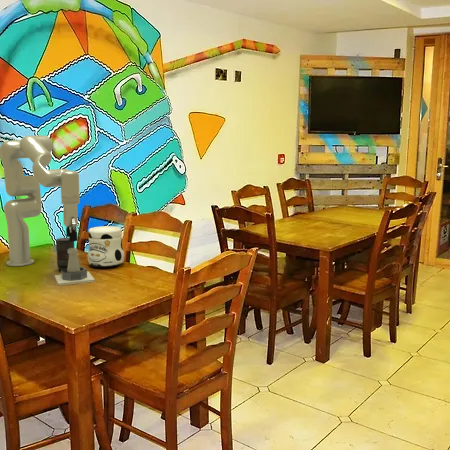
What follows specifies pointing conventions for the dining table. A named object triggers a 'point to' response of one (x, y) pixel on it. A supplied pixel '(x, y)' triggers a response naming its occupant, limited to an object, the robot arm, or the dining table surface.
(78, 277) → the holder ring
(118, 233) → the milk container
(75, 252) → the salt shaker
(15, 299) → the dining table surface
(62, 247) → the camera lens
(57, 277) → the holder board
